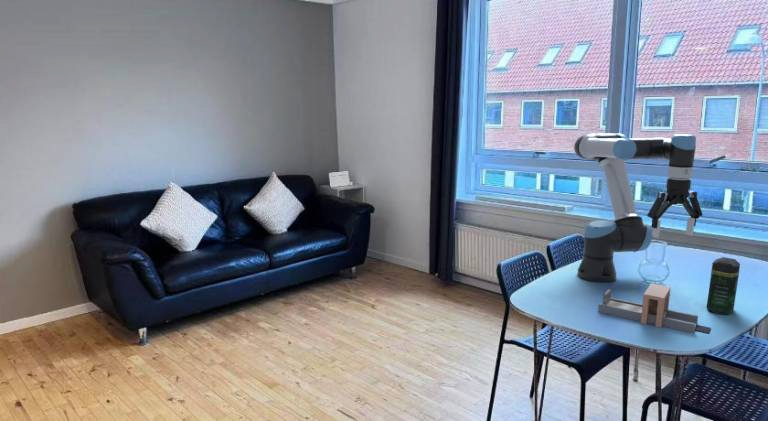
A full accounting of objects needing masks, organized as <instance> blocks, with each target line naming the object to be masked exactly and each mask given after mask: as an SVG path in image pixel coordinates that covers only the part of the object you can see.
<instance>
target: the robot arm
mask: <svg viewBox="0 0 768 421" xmlns="http://www.w3.org/2000/svg"><path fill="white" fill-rule="evenodd" d="M671 136H672V137H671V138H667V137H660V136H658V137H654V138H653V137H652V138H650V137H649V138H628V137H627V136H626V135H625V134H624V133H618V132H617V133H616V132H610V133H587V134H586V133H585V134H583V135H581V136H580V137H578V138H577V139H576V140H575V142H574V147H573V150H574V152H575V154H576V156H577V157H579V158H580V159H583V160H586V161H587V160H589V161H597V162H598V163H597V164H598V166H599V167H600V168H603V171H604V176H605V181H606V185H607V188H608V195H609V198H610V203H611V206H612V210H613V215H614V220H607V219H606V220H605V219H604V220H603V219H599V220H593V221H590V222H588V223H587V224H586V225H585V229H584V233H583V234H584V235H583V236H584V237H583V252H582V253H583V255H582V259H581V262H580V263H579V265H578V268H577V276H578V277H579V278H580V279H583V280H586V281H590V282H595V283H596V282H597V283H610V282H615V281H616V280H617V271H616V266H615V263H614V254H615V253H630V252H633V253H636V252H642V251H646V250H647V249H648V248H649V247H650V246H651V243H652V240H653V237H655V238H656V239H658V238H660V231H661V230H660V229H661V221H662V220H661V219H660V218H661V217H662V216H663V215H664V214H665V213H666V211H667V210H668V209H669V208H670V207H672V206H673V205H674V206H675V205H682V206H683V208H684V209H685V211H686V213H688V215H689V216H687V222H686V227H685V228H686V229H685V235H687V236H690V237H693V236H694V230H695V229H694V228H695V227H696V224H697V219H700V217H702V216H703V212H702V209H701V205H700V202H699V200H698V199H699V198H698V192H697V191H694V190H691V186H692V180H691V179H692V178H693V168H694V162H695V154H696V148H697V147H696V146H697V144H696V143H697V137H696V136H695V134H687V133H686V134H684V133H683V134H682V133H680V134H679V133H677V134H676V133H675V134H673V135H671ZM643 159H644V160H646V159H647V160H650V159H651V160H652V159H653V160H655V159H657V160H658V159H662V160H663V159H664V160H669V161H668V169H667V177H668V178H667V179H666V184H665V185H666V186H665V187H666V192H663V191H658V192H657V197H656V198H655V201H653V202H654V203H653V204H652V205H651V207H650V209H649V211H648V213H647V215H646V217H647V218H650V219H651V226H650V225H649V223H645V222H644V221H643V218H642V216H641V215H639V214H637V210H636V205H635V201H634V197H633V192H632V190H631V185H630V181H629V177H628V173H627V169H626V165H625V163H626V162H627V161H628V160H643ZM688 199H689V200H688Z"/></svg>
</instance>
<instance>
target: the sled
mask: <svg viewBox="0 0 768 421" xmlns="http://www.w3.org/2000/svg"><path fill="white" fill-rule="evenodd" d="M611 296H612V289H609V288H608V289H607V290H606V291H605V292H604V293H603V297H602V299H603V300H602V304H605V305H610V306H614V307H619V308H624V309H629V310H633V311H638V312H642V307H640V306H635V305H631V304H626V303H621V302H616V301H611V300H610V298H612V297H611ZM665 304H666V298H665V301H664V310H663V317H666V313H667V312H665ZM657 307H658V300H653V299H649V308H648V314H652V315H657Z"/></svg>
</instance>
